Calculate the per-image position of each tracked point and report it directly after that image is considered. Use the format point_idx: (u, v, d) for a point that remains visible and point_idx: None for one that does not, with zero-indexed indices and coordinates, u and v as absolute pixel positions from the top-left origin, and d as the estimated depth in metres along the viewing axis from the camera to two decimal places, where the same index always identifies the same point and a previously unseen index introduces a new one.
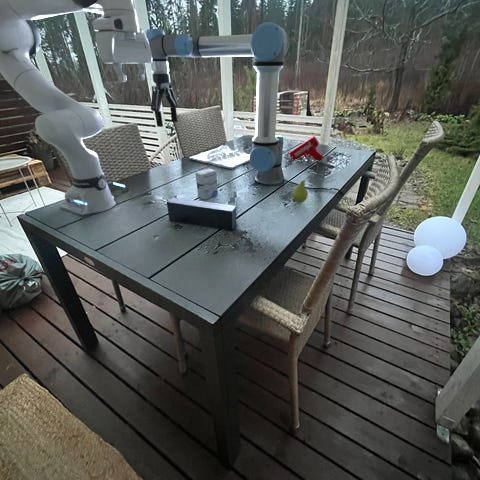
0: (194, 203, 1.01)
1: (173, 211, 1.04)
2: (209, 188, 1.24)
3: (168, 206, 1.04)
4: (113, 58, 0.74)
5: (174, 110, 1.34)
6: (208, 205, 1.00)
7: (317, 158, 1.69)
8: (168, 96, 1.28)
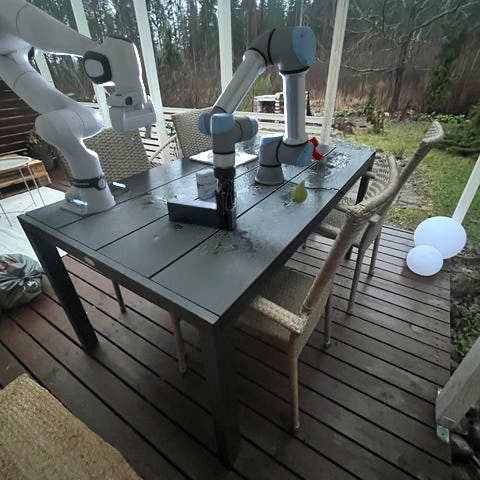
0: (194, 203, 1.01)
1: (173, 211, 1.04)
2: (209, 188, 1.24)
3: (168, 206, 1.04)
4: (124, 129, 0.85)
5: None
6: (208, 205, 1.00)
7: (317, 158, 1.69)
8: None
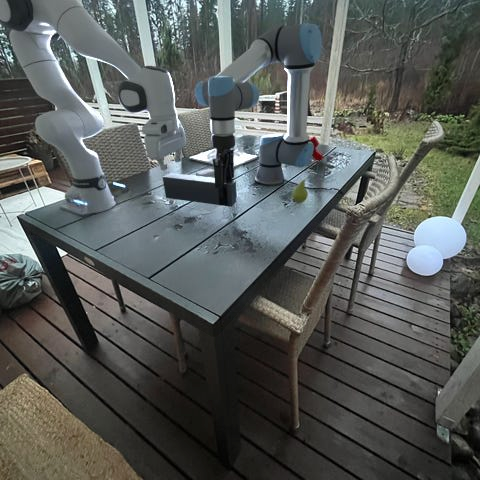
0: (192, 178, 0.96)
1: (169, 187, 0.99)
2: None
3: (164, 181, 0.99)
4: (159, 156, 0.86)
5: None
6: (206, 179, 0.95)
7: (317, 158, 1.69)
8: None
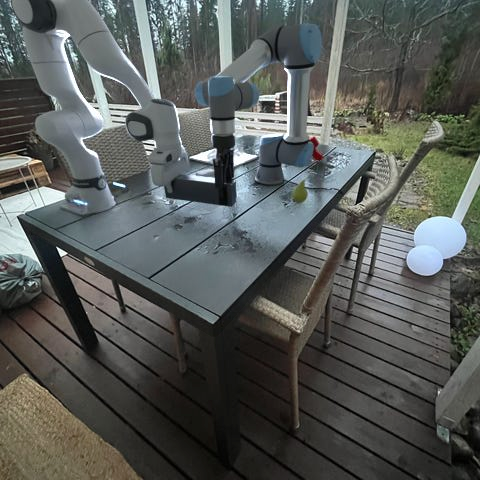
0: (192, 178, 0.96)
1: None
2: None
3: None
4: (164, 183, 0.91)
5: None
6: (206, 179, 0.95)
7: (317, 158, 1.69)
8: None
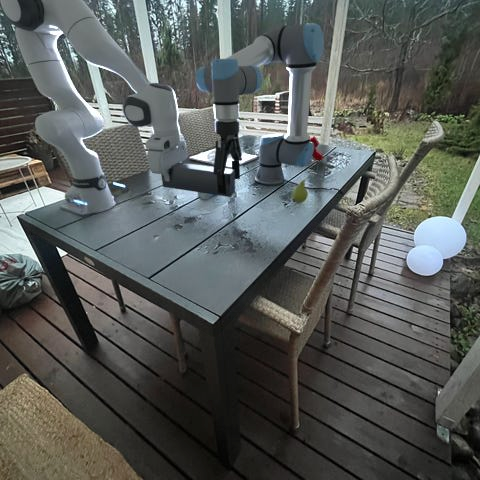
0: (190, 166, 0.94)
1: None
2: None
3: None
4: (161, 170, 0.89)
5: (237, 165, 0.96)
6: (204, 168, 0.93)
7: (317, 158, 1.69)
8: (232, 148, 0.90)
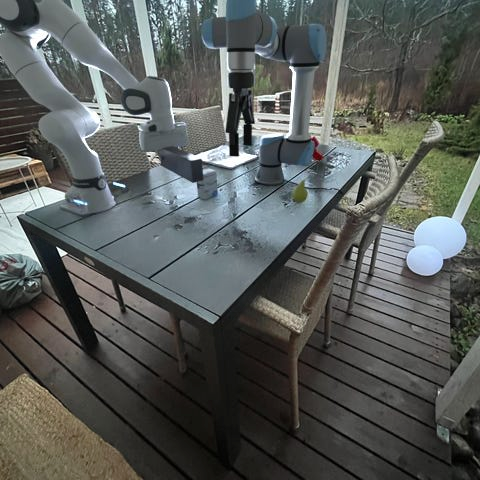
0: (174, 150, 1.06)
1: None
2: (209, 188, 1.24)
3: None
4: (146, 149, 1.05)
5: (249, 129, 0.88)
6: (181, 153, 1.03)
7: (317, 158, 1.69)
8: (245, 108, 0.82)
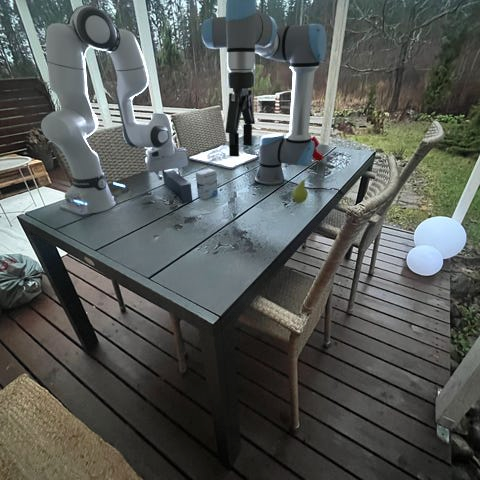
0: (172, 174, 1.29)
1: (164, 177, 1.36)
2: (209, 188, 1.24)
3: None
4: (150, 170, 1.29)
5: (249, 129, 0.88)
6: (177, 178, 1.25)
7: (317, 158, 1.69)
8: (245, 108, 0.82)
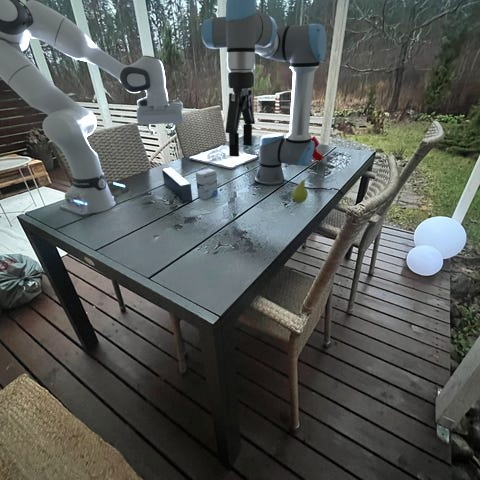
0: (172, 174, 1.29)
1: (164, 177, 1.36)
2: (209, 188, 1.24)
3: None
4: (139, 122, 1.19)
5: (249, 129, 0.88)
6: (177, 178, 1.25)
7: (317, 158, 1.69)
8: (245, 108, 0.82)
